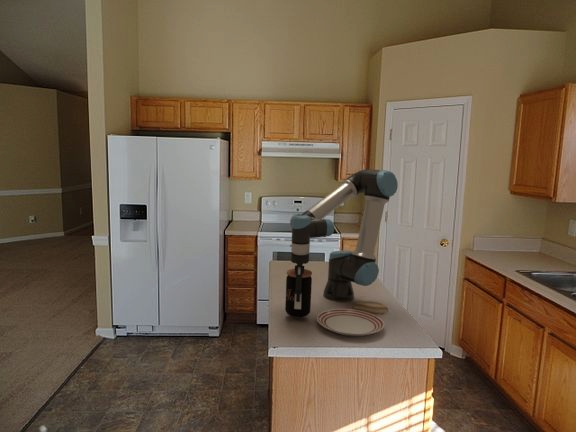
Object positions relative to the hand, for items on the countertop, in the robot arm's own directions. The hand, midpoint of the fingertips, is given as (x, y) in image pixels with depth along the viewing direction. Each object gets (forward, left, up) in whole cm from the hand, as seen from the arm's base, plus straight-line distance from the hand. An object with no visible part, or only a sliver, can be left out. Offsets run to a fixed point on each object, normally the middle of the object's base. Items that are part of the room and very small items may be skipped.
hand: (298, 303), depth 170 cm
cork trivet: (-18, +34, -6) cm, 39 cm away
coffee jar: (0, 0, -4) cm, 4 cm away
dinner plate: (+5, +22, -7) cm, 23 cm away
